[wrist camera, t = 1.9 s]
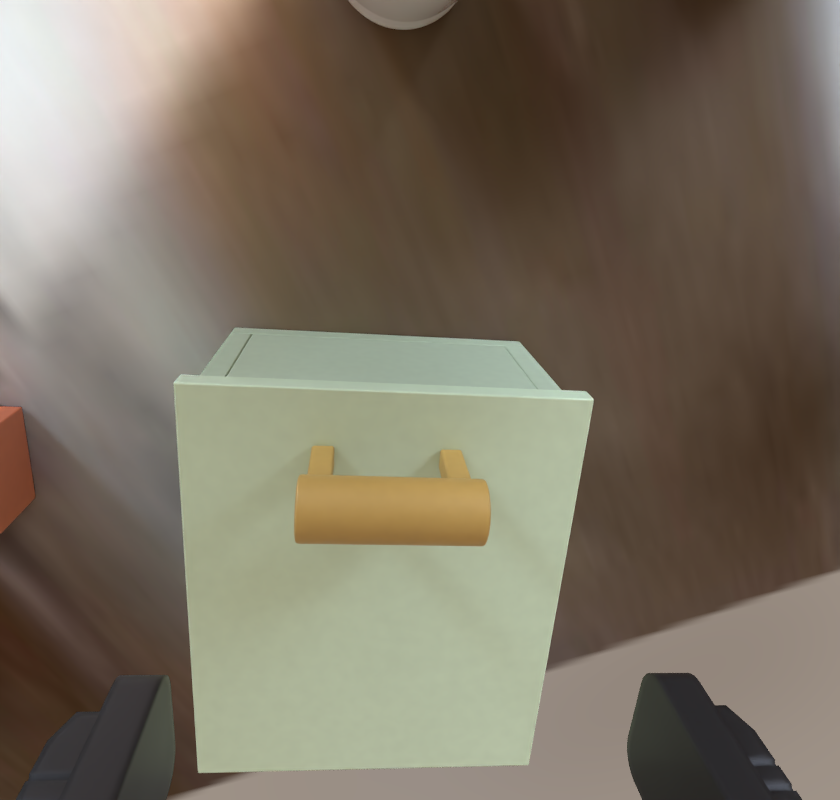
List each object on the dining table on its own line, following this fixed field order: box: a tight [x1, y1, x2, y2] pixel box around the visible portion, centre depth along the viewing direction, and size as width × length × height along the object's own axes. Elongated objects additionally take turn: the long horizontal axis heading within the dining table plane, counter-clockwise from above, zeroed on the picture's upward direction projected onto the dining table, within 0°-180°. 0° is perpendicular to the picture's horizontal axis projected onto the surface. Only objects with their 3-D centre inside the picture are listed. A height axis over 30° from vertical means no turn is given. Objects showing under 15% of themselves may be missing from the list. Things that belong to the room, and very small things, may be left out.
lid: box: [173, 375, 594, 773], centre depth 21 cm, size 16×13×5 cm
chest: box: [200, 328, 561, 390], centre depth 27 cm, size 15×13×9 cm
